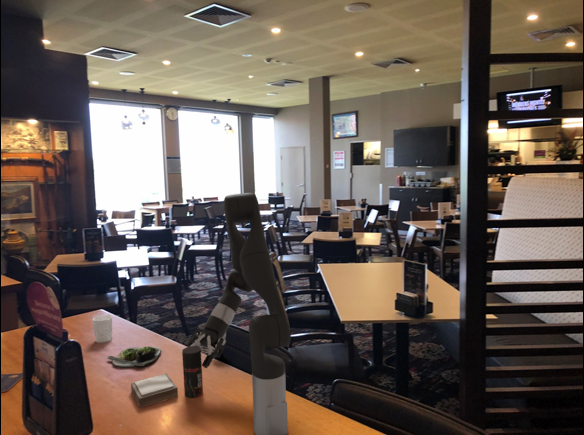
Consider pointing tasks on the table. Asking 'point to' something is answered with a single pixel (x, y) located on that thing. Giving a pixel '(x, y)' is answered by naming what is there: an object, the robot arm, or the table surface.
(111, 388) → the table surface
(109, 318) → the white cup
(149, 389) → the pedestal
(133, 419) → the table surface
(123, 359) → the salad plate
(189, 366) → the deodorant
